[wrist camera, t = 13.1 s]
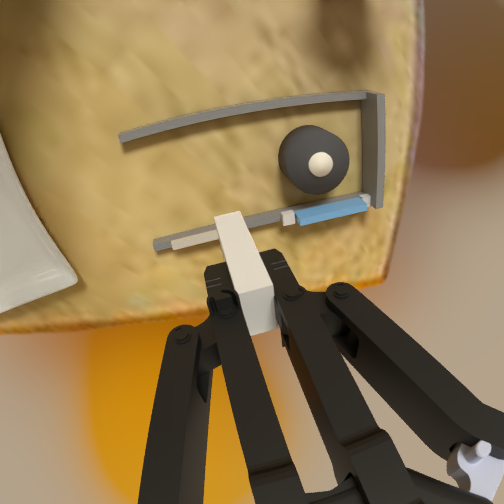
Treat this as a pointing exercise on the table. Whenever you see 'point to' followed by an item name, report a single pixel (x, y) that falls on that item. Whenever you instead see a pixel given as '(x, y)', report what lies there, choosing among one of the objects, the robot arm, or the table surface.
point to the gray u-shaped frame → (308, 211)
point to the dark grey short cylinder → (313, 159)
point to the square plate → (25, 246)
